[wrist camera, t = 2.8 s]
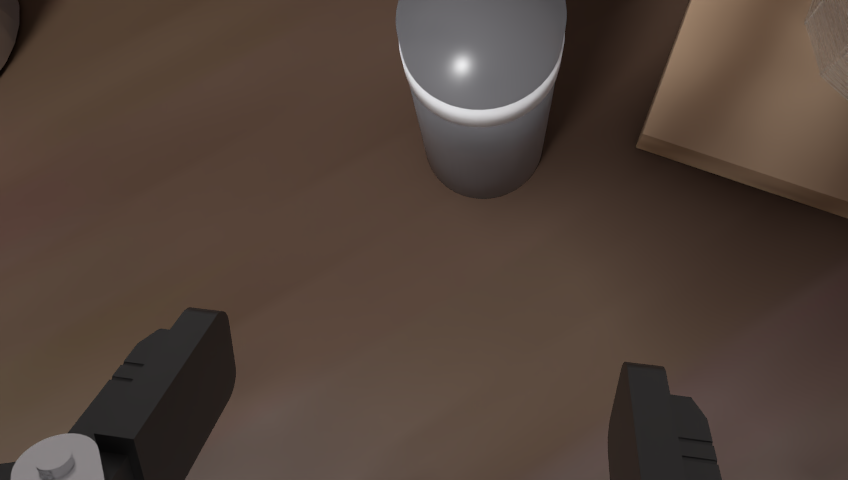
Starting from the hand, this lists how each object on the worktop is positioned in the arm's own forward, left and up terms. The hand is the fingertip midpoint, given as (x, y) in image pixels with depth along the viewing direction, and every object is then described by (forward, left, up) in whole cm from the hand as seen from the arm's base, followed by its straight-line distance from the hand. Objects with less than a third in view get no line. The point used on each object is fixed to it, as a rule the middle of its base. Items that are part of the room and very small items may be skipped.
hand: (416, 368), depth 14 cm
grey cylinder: (-3, +10, -14) cm, 18 cm away
